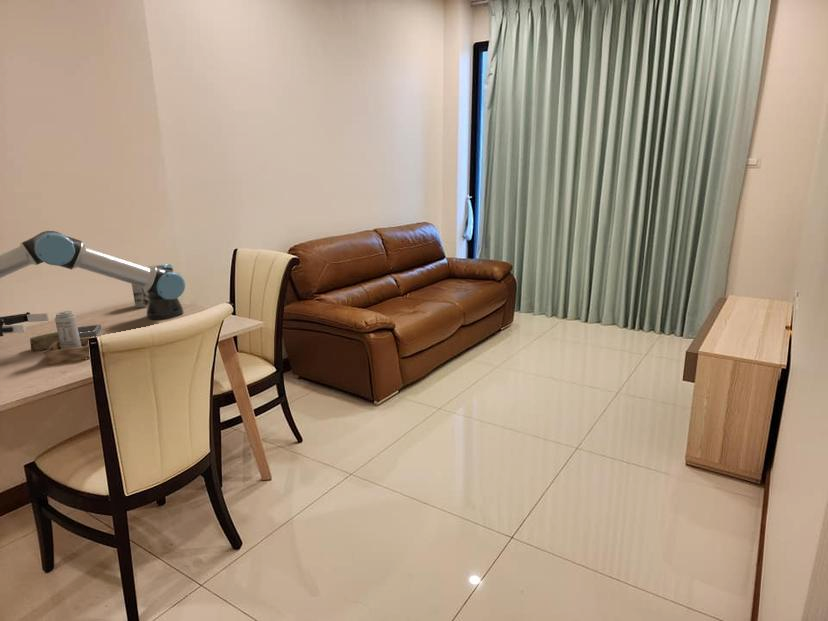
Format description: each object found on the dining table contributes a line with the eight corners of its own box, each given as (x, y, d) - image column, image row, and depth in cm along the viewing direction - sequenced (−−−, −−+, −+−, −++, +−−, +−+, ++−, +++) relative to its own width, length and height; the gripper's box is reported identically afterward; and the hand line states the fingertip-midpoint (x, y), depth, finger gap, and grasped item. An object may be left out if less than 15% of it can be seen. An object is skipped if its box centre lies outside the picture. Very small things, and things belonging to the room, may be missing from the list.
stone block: (69, 344, 201) (66, 332, 199) (34, 353, 192) (31, 340, 191) (64, 341, 204) (61, 329, 203) (29, 350, 196) (26, 337, 194)
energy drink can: (86, 350, 189) (78, 310, 185) (73, 356, 183) (64, 315, 179) (72, 349, 190) (63, 310, 186) (58, 355, 185) (49, 315, 181)
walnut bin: (97, 347, 195) (95, 336, 194) (90, 358, 183) (88, 346, 182) (57, 352, 191) (54, 341, 190) (47, 364, 179) (44, 352, 178)
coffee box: (146, 307, 252) (140, 275, 248) (135, 307, 253) (129, 274, 249) (159, 303, 261) (153, 271, 256) (147, 302, 262) (142, 271, 258)
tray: (101, 330, 218) (100, 324, 217) (96, 337, 208) (95, 331, 207) (71, 333, 214) (70, 327, 213) (64, 341, 204) (63, 335, 203)
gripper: (-2, 326, 194) (58, 322, 196) (-53, 348, 170) (16, 344, 172) (-8, 306, 192) (53, 303, 194) (-60, 326, 168) (10, 322, 170)
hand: (36, 322), depth 183 cm, fingers open, 13 cm apart
